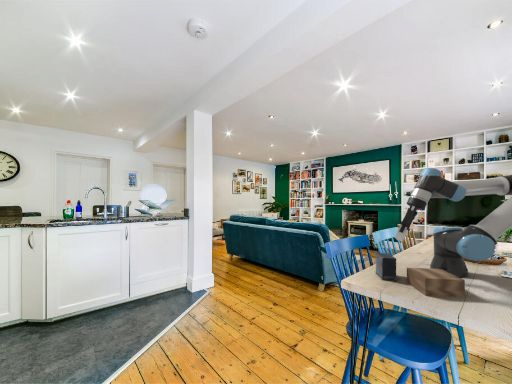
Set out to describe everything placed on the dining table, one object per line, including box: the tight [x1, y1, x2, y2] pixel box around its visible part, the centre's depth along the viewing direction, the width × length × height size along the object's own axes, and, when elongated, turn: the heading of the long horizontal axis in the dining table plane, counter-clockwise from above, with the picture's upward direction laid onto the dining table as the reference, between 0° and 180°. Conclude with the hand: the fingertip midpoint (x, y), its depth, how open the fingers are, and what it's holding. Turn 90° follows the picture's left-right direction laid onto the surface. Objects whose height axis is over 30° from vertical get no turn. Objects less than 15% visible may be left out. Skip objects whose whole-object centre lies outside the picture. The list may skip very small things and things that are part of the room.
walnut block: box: [406, 267, 466, 299], centre depth 97 cm, size 14×14×7 cm
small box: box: [375, 252, 397, 282], centre depth 112 cm, size 11×6×10 cm, turn 168°
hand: (398, 240), depth 110 cm, fingers open, 13 cm apart
